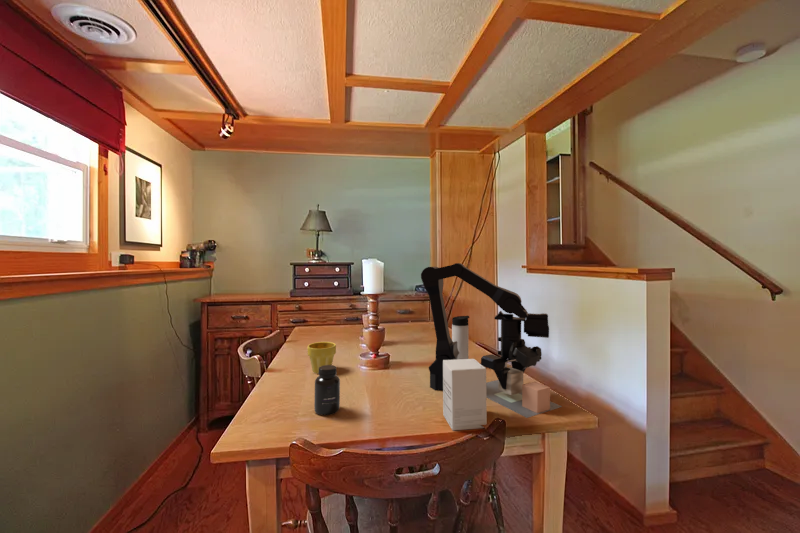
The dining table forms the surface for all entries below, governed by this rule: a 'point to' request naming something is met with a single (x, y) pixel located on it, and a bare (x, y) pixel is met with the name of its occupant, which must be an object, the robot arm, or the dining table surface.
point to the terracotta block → (536, 397)
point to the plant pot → (321, 354)
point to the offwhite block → (513, 382)
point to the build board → (511, 400)
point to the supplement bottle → (327, 391)
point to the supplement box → (464, 394)
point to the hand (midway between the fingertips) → (510, 387)
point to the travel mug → (461, 335)
